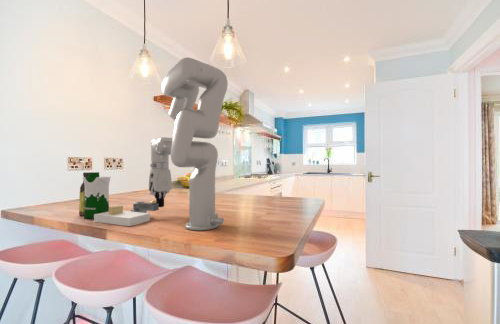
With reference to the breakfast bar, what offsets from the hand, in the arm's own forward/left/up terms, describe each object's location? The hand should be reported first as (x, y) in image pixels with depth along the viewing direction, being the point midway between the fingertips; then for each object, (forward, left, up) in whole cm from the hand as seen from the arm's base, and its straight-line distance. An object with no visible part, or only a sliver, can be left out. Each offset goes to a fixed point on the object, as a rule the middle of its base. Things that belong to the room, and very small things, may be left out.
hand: (160, 206), depth 111 cm
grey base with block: (+7, +14, -4) cm, 16 cm away
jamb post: (+7, +6, -4) cm, 10 cm away
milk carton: (+25, +12, -4) cm, 28 cm away
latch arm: (+3, +6, -1) cm, 6 cm away
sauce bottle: (+35, +10, -4) cm, 37 cm away
